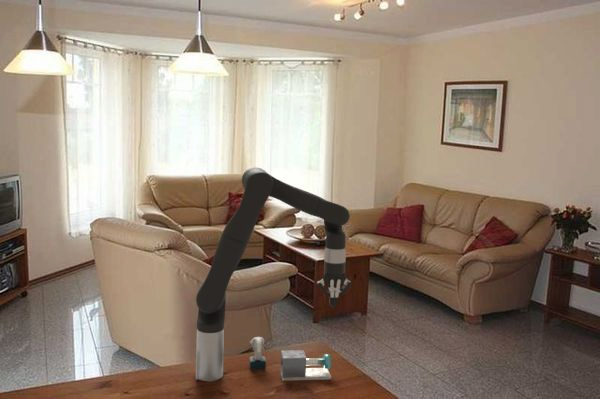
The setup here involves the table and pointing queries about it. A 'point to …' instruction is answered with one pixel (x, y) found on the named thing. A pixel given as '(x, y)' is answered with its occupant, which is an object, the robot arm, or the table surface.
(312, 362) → the shaft
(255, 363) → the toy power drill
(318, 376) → the shaft housing
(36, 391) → the table surface
